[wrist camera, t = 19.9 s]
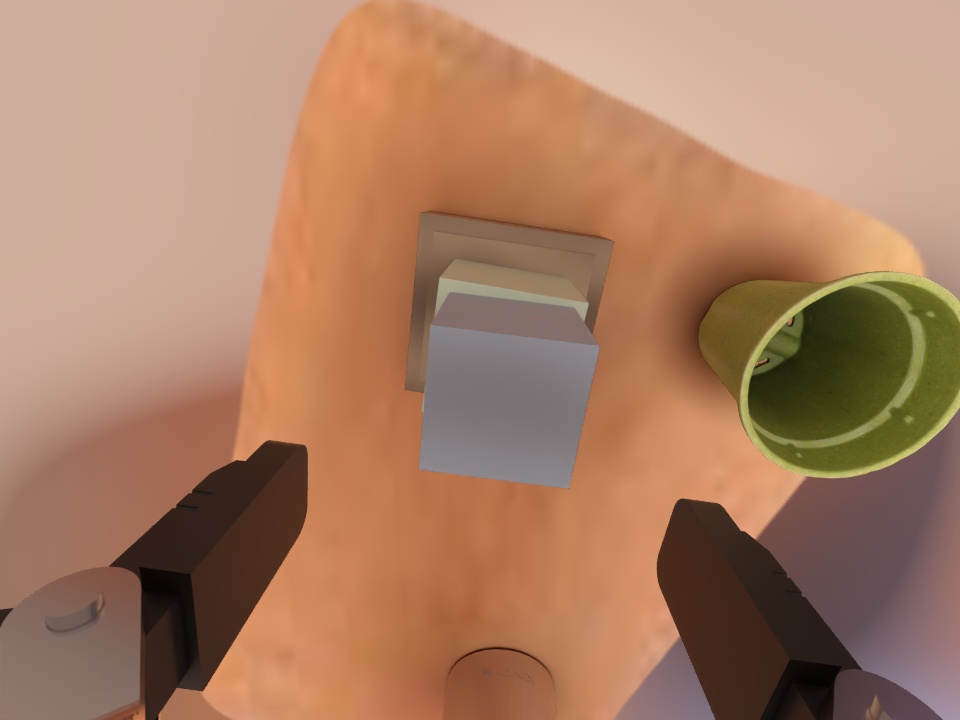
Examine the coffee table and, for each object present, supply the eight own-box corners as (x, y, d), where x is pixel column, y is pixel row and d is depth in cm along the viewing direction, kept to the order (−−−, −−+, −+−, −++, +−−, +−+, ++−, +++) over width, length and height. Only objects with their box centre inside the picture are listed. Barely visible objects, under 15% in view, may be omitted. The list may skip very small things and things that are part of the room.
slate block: (553, 418, 19) (568, 488, 15) (439, 404, 19) (418, 469, 15) (574, 307, 18) (599, 345, 13) (449, 291, 18) (430, 324, 13)
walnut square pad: (566, 394, 29) (573, 416, 26) (414, 371, 29) (404, 391, 26) (601, 236, 25) (615, 241, 22) (429, 211, 25) (419, 212, 22)
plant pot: (812, 220, 25) (965, 230, 16) (846, 364, 27) (992, 434, 19) (649, 291, 26) (713, 332, 18) (696, 420, 29) (771, 506, 21)
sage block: (543, 382, 25) (555, 434, 20) (440, 364, 25) (421, 411, 20) (568, 278, 23) (588, 303, 18) (455, 258, 23) (439, 277, 18)
